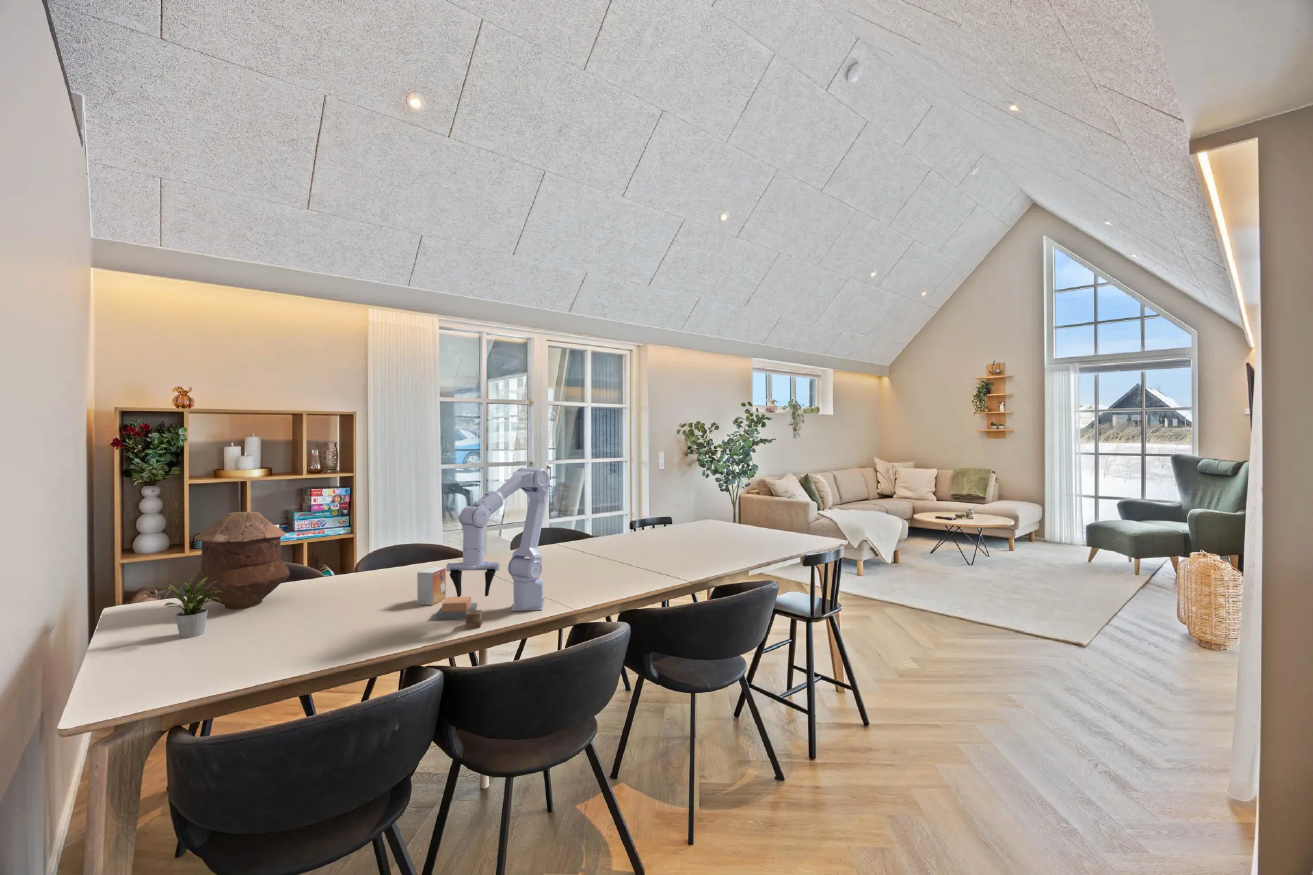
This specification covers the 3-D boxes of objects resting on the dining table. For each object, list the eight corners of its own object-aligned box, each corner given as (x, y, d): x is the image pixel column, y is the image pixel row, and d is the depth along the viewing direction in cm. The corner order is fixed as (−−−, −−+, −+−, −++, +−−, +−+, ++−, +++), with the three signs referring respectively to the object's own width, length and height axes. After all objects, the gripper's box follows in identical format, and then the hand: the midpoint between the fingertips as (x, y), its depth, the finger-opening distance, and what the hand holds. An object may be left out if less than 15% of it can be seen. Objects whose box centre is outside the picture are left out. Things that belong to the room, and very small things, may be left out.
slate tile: (477, 610, 184) (477, 602, 183) (471, 620, 174) (471, 612, 174) (444, 611, 182) (444, 603, 182) (436, 622, 172) (436, 613, 172)
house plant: (164, 649, 149) (164, 585, 149) (144, 639, 156) (143, 578, 156) (229, 633, 161) (228, 574, 161) (207, 624, 169) (206, 568, 169)
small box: (432, 605, 187) (432, 572, 187) (416, 604, 188) (416, 572, 188) (446, 598, 195) (446, 567, 195) (431, 597, 196) (431, 566, 196)
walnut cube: (482, 623, 169) (482, 609, 169) (479, 628, 165) (479, 613, 165) (467, 624, 169) (467, 610, 169) (465, 628, 165) (465, 614, 165)
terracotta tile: (471, 604, 182) (471, 596, 182) (466, 611, 175) (466, 602, 175) (447, 605, 181) (447, 597, 181) (442, 611, 174) (442, 603, 174)
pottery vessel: (177, 621, 172) (176, 519, 172) (207, 598, 196) (207, 509, 195) (279, 611, 181) (279, 514, 181) (296, 590, 205) (296, 505, 205)
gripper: (443, 551, 162) (443, 599, 162) (497, 550, 164) (496, 598, 164) (449, 546, 169) (449, 593, 169) (501, 545, 171) (500, 592, 171)
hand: (473, 595), depth 167 cm, fingers open, 7 cm apart
